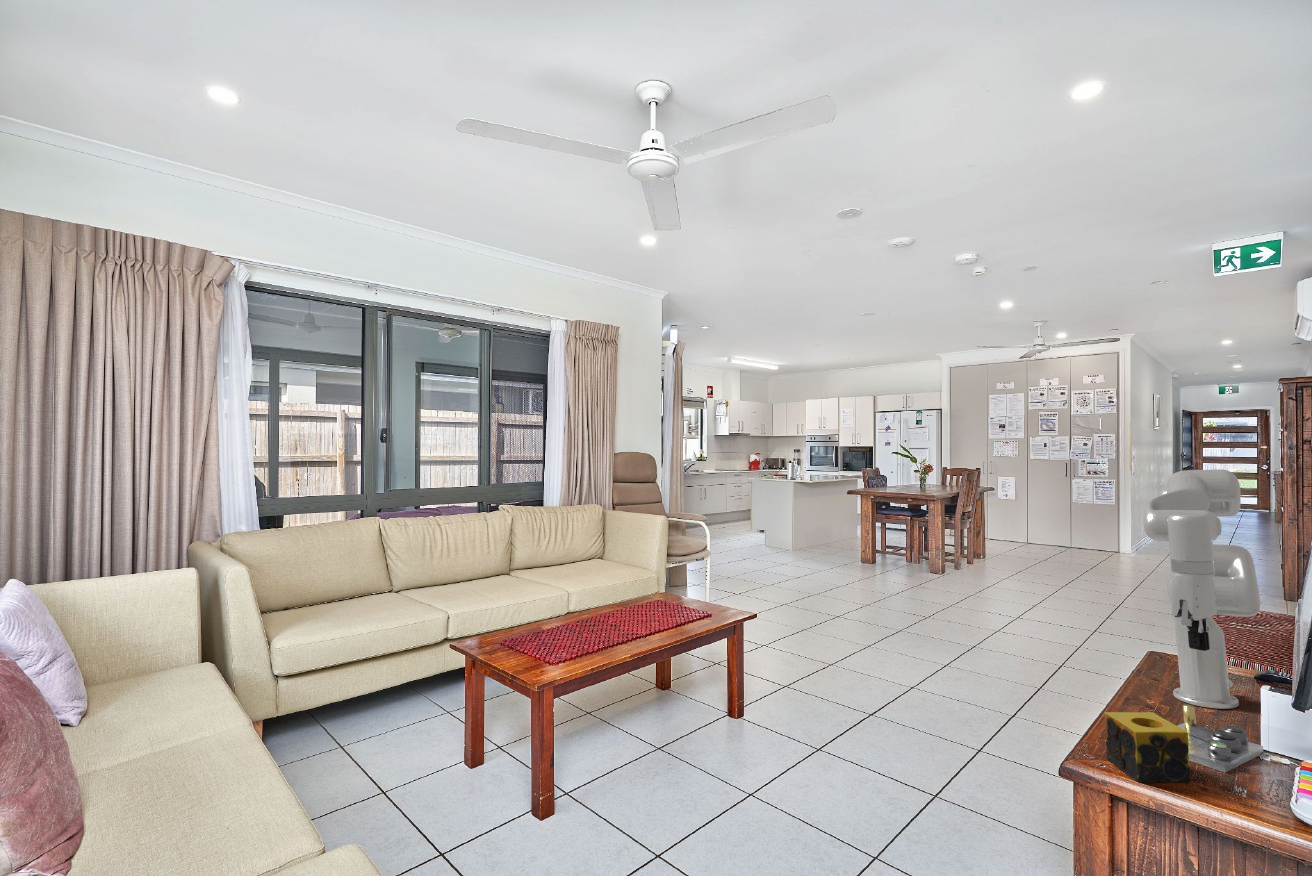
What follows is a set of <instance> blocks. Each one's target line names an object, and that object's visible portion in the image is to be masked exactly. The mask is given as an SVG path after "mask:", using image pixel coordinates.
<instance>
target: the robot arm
mask: <svg viewBox="0 0 1312 876" xmlns="http://www.w3.org/2000/svg"><path fill="white" fill-rule="evenodd" d="M1241 492H1242V491H1241V485H1240V482H1239V479H1238V478H1237V476H1236V475H1235V474H1234V473H1233V472H1232V471H1230V470H1228V469H1227V470H1226V469H1188V470H1186V469H1185V470H1180V471H1176V472H1174V473H1171V475H1169V477H1168V479H1167V481H1166V488H1164V489H1162V490H1160V491H1159V493H1158V495H1157V496H1156V497H1154V498H1151V500H1149V501H1148V502H1147V503H1146V505H1145V507H1144V511H1143V521H1142V523H1143V525H1142V526H1143V528H1144V533H1145V534H1146V535H1147V537H1148V538H1150V539H1152V540H1154V541H1159V542H1162V541H1163V542H1168V545H1169V557H1170V570H1171V578H1170V579H1169V581H1168V583H1167V595H1168V599H1169V601H1170V605H1171V606H1170V607H1171V608H1170V609H1171V615H1172V616H1173V620H1174V621H1173V622H1174V627H1175V628H1174V629H1175V639H1176V640H1175V641H1176V650H1177V651H1176V652H1177V662H1178V674H1179V685H1180V686H1179V687H1176V688H1174V689H1173V692H1172V693H1173V694H1172V695H1173V697H1175V698H1176V699H1177V700H1179V701H1182V702H1184V703H1185V704H1188V705H1192V706H1197V707H1202V708H1210V709H1218V710H1219V709H1221V710H1222V709H1223V710H1225V709H1227V710H1228V709H1235V708H1237V707H1239V705H1240V703H1239V699H1238V698H1237V697H1235V696H1234V695H1231V694H1230V688H1231V687H1233V686H1234V683H1233V681H1231V680H1230V679H1229V673H1228V662H1227V661H1228V660H1227V649H1226V639H1225V634H1224V630H1223V629H1222V627H1220V625H1219V624H1218V623H1217V622H1216V621H1215V620H1214V619H1213V617H1214V616H1215V615H1218V616H1229V617H1240V618H1241V617H1242V618H1244V617H1245V618H1248V617H1249V618H1250V617H1251V618H1252V617H1254V616H1256V615H1258V614H1259V612H1260V609H1261V599H1260V597H1261V596H1260V590H1259V586H1258V578H1257V573H1256V566H1255V563H1254V559H1253V556H1252V554H1251V553H1250V551H1249V550H1248V549H1246V548H1245V547H1243V546H1241V545H1235V544H1234V545H1233V544H1214V543H1213V542H1214V541H1216V540H1217V539H1218V537H1219V536H1221V534H1222V528H1223V527H1222V521H1221V519H1220V518H1219V517H1223V518H1224V517H1233V516H1236V515H1237V514H1239V512H1240V510H1241V503H1242V502H1241V496H1242V495H1241Z"/></svg>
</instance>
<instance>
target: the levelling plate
mask: <svg viewBox="0 0 1312 876" xmlns="http://www.w3.org/2000/svg"><path fill="white" fill-rule="evenodd" d="M1176 726H1178V727H1180V728H1181V729H1183V730H1185V725H1184V722H1183V723H1180V724H1177V725H1176ZM1221 731H1226V732H1230V733H1233V734H1234V735H1235V736H1237V737H1238V738H1240V740H1241V751H1239V752H1231V748H1230V747H1229V746H1227V745H1225V744H1223V743H1220V742H1210V743H1209V742H1208V741H1206V740H1203V739H1201V738H1198V737H1196V736H1193V735H1190V734H1188V743H1189V753H1188V755H1189V762H1192V763H1196V764H1199V765H1201V766H1205V767H1208V768H1211V769H1214V770H1217V771H1219V772H1223V773H1225V774H1226V773H1227V772H1229V771H1231V770H1234V769H1235V768H1238V767H1239V766H1242V765H1243V764H1245V763H1247V762H1249V761H1251V760H1253V759H1255V758H1257V757H1258V756H1260V754H1261V753H1262V752H1263V753H1264V746H1263V745H1260V744H1257V743H1254V742H1251V741H1248V732H1247V730H1245V729H1243V728H1240V727H1238V726H1232V725H1224V726H1222V727H1221ZM1261 755H1262V754H1261Z"/></svg>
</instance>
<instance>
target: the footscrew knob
mask: <svg viewBox="0 0 1312 876" xmlns="http://www.w3.org/2000/svg"><path fill="white" fill-rule="evenodd" d="M1182 710H1183V723H1184V725H1185V731H1187V733H1188V734H1190V735H1193V736H1196V737H1198V738H1201V739H1203V740H1206V741H1208V742H1209V743H1210V742H1220V743H1223V744H1225V745H1227V746H1229V747H1230V748H1231V752H1239V751H1241V740H1240V738H1238V737H1237V736H1235V735H1234V734H1233V733H1230V732H1226V731H1222V730H1220V729H1219V730H1216V729H1215V730H1212V729H1209V728H1206V727H1204V726H1201V725H1199V724H1197V719H1196V709H1195V705H1192V704H1183V705H1182Z"/></svg>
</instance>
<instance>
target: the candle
mask: <svg viewBox="0 0 1312 876" xmlns="http://www.w3.org/2000/svg"><path fill="white" fill-rule="evenodd" d="M1103 715H1104V716H1103V717H1104V719H1105V726H1106V731H1107V734H1106V740H1105V746H1106V749H1105V750H1106V752H1105V753H1106V760H1108V761H1109V763H1112V764H1113V765H1114V767H1116V768H1118V769H1119V770H1120V771H1122V772H1123V773H1125V775H1128V776H1129V777H1131V779H1133V780H1134V781H1135V782H1137V783H1141V784H1142V783H1143V784H1145V783H1146V784H1147V783H1148V784H1150V783H1151V784H1152V783H1154V784H1155V783H1156V784H1157V783H1158V784H1178V782H1179V784H1180V783H1181V784H1191V782H1192V778H1191V774H1192V772H1191V768H1190V761H1189V755H1188V753H1189V743H1188V733H1187V731H1185V730H1183V729H1181V728H1180V727H1178V726H1177V725H1176V724H1174V723H1172V722H1171V721H1169V720H1168V719H1165V718H1163V717H1162V716H1160V715H1158V714H1157V713H1155V712H1151V711H1147V712H1145V711H1144V712H1143V711H1142V712H1137V711H1135V712H1134V711H1133V712H1131V711H1129V712H1128V711H1127V712H1126V711H1125V712H1123V711H1122V712H1121V711H1119V712H1118V711H1113V712H1112V711H1109V712H1108V711H1106V712H1104V714H1103Z"/></svg>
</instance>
